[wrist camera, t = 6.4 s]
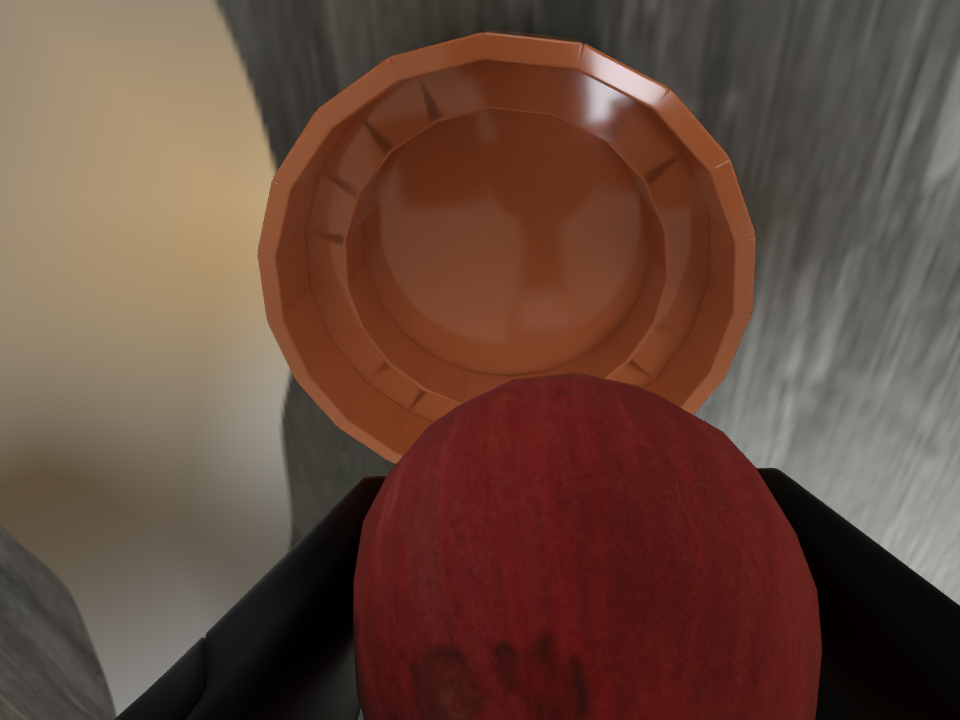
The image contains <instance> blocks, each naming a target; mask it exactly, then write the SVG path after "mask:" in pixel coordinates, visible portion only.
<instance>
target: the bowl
mask: <svg viewBox="0 0 960 720" xmlns="http://www.w3.org/2000/svg"><path fill="white" fill-rule="evenodd" d="M755 235H756V233H755V230H754V227H753V224H752V221H751V218H750V215H749V212H748V209H747V206H746V204H745V201H744V198H743V195H742V192H741V189H740V186H739V183H738V180H737V177H736V174H735V171H734V168H733V165H732V162H731V159H729V156H728V154H727V153H726V152H725V151H724V150H723V149H722V147H721V146H720V145H719V144H718V143H717V142H716V140H715V139H714V138H713V137H712V136H711V135H710V133H709V132H708V131H707V130H706V129H705V128H704V126H703V125H702V124H701V123H700V122H699V121H698V119H697V118H696V117H695V116H694V115H693V114H692V112H691V111H690V110H689V109H688V108H687V107H686V105H685V104H684V103H683V102H682V101H681V100H680V98H679V97H678V96H677V95H676V94H675V93H674V91H673V90H671V89H669V87H668V86H666V85H664V84H662V83H660V82H658V81H656V80H654V79H652V78H651V77H649V76H647V75H645V74H643V73H641V72H639V71H637V70H635V69H633V68H631V67H630V66H628V65H626V64H624V63H622V62H620V61H618V60H616V59H614V58H612V57H610V56H609V55H607V54H605V53H603V52H601V51H599V50H597V49H595V48H593V47H591V46H589V45H588V44H585V43H583V42H580V41H577V40H575V39H571V38H568V37H559V36H550V35H541V34H532V33H523V32H514V31H505V30H491V31H485V32H480V33H476V34H472V35H468V36H465V37H461V38H457V39H453V40H449V41H446V42H442V43H438V44H434V45H431V46H427V47H423V48H419V49H415V50H412V51H408V52H404V53H400V54H396V55H393V56H391V57H389V58H386V59H385V60H384V61H382V62H381V63H380V64H378V65H377V66H376V67H374V68H373V69H371V70H370V71H369V72H367V73H366V74H365V75H363V76H362V77H360V78H359V79H358V80H356V81H355V82H354V83H352V84H351V85H349V86H348V87H347V88H345V89H344V90H343V91H341V92H340V93H339V94H337V95H336V96H334V97H333V98H332V99H330V100H329V101H328V102H326V103H325V104H323V105H322V106H321V107H319V108H318V110H317V111H316V112H315V113H314V114H313V116H312V117H311V119H310V121H309V122H308V124H307V125H306V127H305V128H304V130H303V132H302V133H301V135H300V136H299V138H298V139H297V141H296V143H295V144H294V146H293V147H292V149H291V150H290V152H289V154H288V155H287V157H286V158H285V160H284V161H283V163H282V165H281V166H280V168H279V169H278V171H277V172H276V174H275V176H274V178H273V181H272V183H271V188H270V193H269V198H268V203H267V208H266V213H265V217H264V222H263V228H262V232H261V237H260V242H259V247H258V261H259V267H260V275H261V282H262V289H263V296H264V303H265V310H266V317H267V321H268V324H269V326H270V328H271V330H272V332H273V334H274V337H275V339H276V340H277V343H278V345H279V347H280V349H281V351H282V353H283V355H284V357H285V359H286V361H287V363H288V365H289V367H290V369H291V372H292V374H293V376H294V378H295V379H296V380H297V382H298V383H299V385H300V386H301V387H302V388H303V389H304V390H305V391H306V392H307V393H308V395H309V396H310V397H311V398H312V399H313V400H314V401H315V402H316V403H317V405H318V406H319V407H320V408H321V409H322V410H323V411H324V412H325V414H326V415H327V416H328V417H329V418H330V419H331V420H332V421H333V422H334V424H335V425H336V426H338V427H339V428H340V429H341V430H343V431H344V432H346V433H347V434H349V435H350V436H352V437H353V438H355V439H356V440H358V441H359V442H361V443H362V444H364V445H365V446H367V447H368V448H370V449H371V450H373V451H374V452H376V453H377V454H379V455H380V456H382V457H383V458H385V459H386V460H388V461H390V462H392V463H394V464H397V463H398V462H399V460H400V459H401V458H402V457H403V456H404V454H405V453H406V452H407V451H408V450H409V448H410V447H411V446H412V445H413V444H414V442H415V441H416V440H417V439H418V438H419V437H420V435H421V434H422V433H423V432H424V431H425V429H426V428H427V427H428V426H429V425H431V424H432V423H433V422H435V421H436V420H438V419H439V418H441V417H442V416H444V415H445V414H447V413H448V412H449V411H451V410H452V409H454V408H455V407H457V406H458V405H460V404H463V403H465V402H467V401H469V400H471V399H473V398H475V397H477V396H479V395H482V394H484V393H486V392H488V391H490V390H492V389H494V388H496V387H498V386H501V385H503V384H505V383H507V382H509V381H511V380H514V379H523V378H531V377H540V376H548V375H557V374H566V373H574V372H577V373H582V374H586V375H591V376H595V377H600V378H605V379H609V380H614V381H618V382H623V383H627V384H632V385H636V386H639V387H641V388H643V389H646V390H648V391H650V392H653V393H655V394H658V395H659V396H661V397H663V398H665V399H666V400H668V401H670V402H672V403H673V404H675V405H677V406H679V407H680V408H682V409H684V410H686V411H687V412H689V413H691V414H693V415H694V414H695V412H696V411H697V410H698V409H699V408H700V407H701V405H702V404H703V403H704V402H705V401H706V400H707V398H708V397H709V396H710V395H711V394H712V393H713V391H714V390H715V389H716V388H717V387H718V386H719V384H720V383H721V382H722V381H723V380H724V377H725V376H726V375H727V372H728V370H729V367H730V365H731V363H732V360H733V358H734V355H735V353H736V351H737V348H738V346H739V344H740V341H741V339H742V336H743V334H744V332H745V329H746V327H747V324H748V322H749V320H750V317H751V315H752V311H753V295H754V274H755V254H756V237H755Z"/></svg>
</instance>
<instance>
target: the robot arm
mask: <svg viewBox="0 0 960 720" xmlns="http://www.w3.org/2000/svg"><path fill="white" fill-rule="evenodd" d="M756 469H757V470H758V472H759V474H760V475H761V477H762V479H763V480H764V482H765V484H766V485H767V487H768V488H769V490H770V492H771V493H772V495H773V497H774V498H775V500H776V502H777V503H778V505H779V506H780V508H781V510H782V511H783V513H784V515H785V516H786V518H787V520H788V521H789V523H790V524H791V526H792V528H793V529H794V531H795V533H796V535H797V537H798V540H799V543H800V545H801V548H802V551H803V553H804V556H805V559H806V561H807V564H808V567H809V569H810V572H811V575H812V577H813V580H814V583H815V585H816V588H817V595H818V606H819V618H820V629H821V641H822V657H821V667H820V678H819V688H818V699H817V709H816V717H815V720H960V605H958V604H957V603H956V602H954V601H953V600H952V599H950V598H949V597H948V596H946V595H945V594H944V593H942V592H941V591H940V590H938V589H937V588H936V587H934V586H933V585H932V584H930V583H929V582H928V581H926V580H925V579H924V578H922V577H921V576H920V575H918V574H917V573H916V572H914V571H913V570H912V569H910V568H909V567H908V566H907V565H905V564H904V563H903V562H901V561H900V560H899V559H897V558H896V557H895V556H893V555H892V554H891V553H889V552H888V551H887V550H885V549H884V548H883V547H881V546H880V545H879V544H877V543H876V542H875V541H873V540H872V539H871V538H869V537H868V536H867V535H865V534H864V533H863V532H861V531H860V530H859V529H857V528H856V527H855V526H853V525H852V524H851V523H849V522H848V521H847V520H845V519H844V518H843V517H842V516H840V515H839V514H838V513H836V512H835V511H834V510H832V509H831V508H830V507H828V506H827V505H826V504H824V503H823V502H822V501H820V500H819V499H818V498H816V497H815V496H814V495H812V494H811V493H810V492H808V491H807V490H806V489H804V488H803V487H802V486H800V485H799V484H798V483H796V482H795V481H794V480H792V479H791V478H790V477H788V476H787V475H786V474H784V473H783V472H782V471H780V470H778V469H776V468H756ZM385 478H386V477H385V476H370V477H365V478H363V479H362V480H361V481H360V482H359V483H358V484H357V485H356V486H355V487H354V488H353V489H352V490H351V491H350V492H349V493H348V494H347V495H346V496H345V497H344V498H343V499H342V500H341V501H340V502H339V503H338V504H337V505H335V506H334V507H333V508H332V509H331V510H330V511H329V512H328V513H327V514H326V515H325V516H324V517H323V518H322V519H321V520H320V521H319V522H318V523H317V524H316V525H315V526H314V527H313V528H312V529H311V530H310V531H309V532H308V533H307V534H306V535H305V536H304V537H303V538H302V539H301V540H300V541H299V542H298V543H297V544H296V545H295V546H294V547H293V548H292V549H291V550H290V551H289V552H288V553H287V554H286V555H285V556H284V557H283V558H282V559H281V560H280V561H279V562H278V563H277V564H276V565H275V566H274V567H273V568H272V569H271V570H270V571H269V572H268V573H267V574H266V575H265V576H264V577H263V578H262V579H261V580H260V581H259V582H258V583H257V584H256V585H255V586H254V587H252V588H251V590H250V591H248V593H246V594H245V595H244V596H243V597H242V598H241V599H240V600H239V602H237V603H236V604H235V605H234V606H233V607H232V608H231V609H230V610H229V611H228V612H227V613H226V614H225V615H224V616H223V617H222V618H221V619H220V620H219V621H218V622H217V623H216V624H215V625H214V626H213V627H212V628H211V629H210V630H209V631H208V632H207V634H206V638H201V639H200V640H199V641H198V642H197V643H196V644H195V645H194V646H192V648H190V649H189V650H188V651H187V652H186V654H185V655H184V656H182V657H181V658H180V659H179V660H178V661H177V662H176V663H175V664H174V665H173V666H172V667H171V668H170V669H169V670H168V671H167V672H166V673H165V674H164V675H162V677H160V678H159V679H158V680H157V681H156V682H155V683H154V684H153V685H152V686H151V687H150V688H149V689H148V690H147V691H146V692H144V693H143V694H142V695H141V696H140V697H139V698H138V699H137V700H136V701H134V702H133V703H132V704H131V705H130V706H129V707H128V708H126V709H125V710H124V711H123V712H122V713H121V714H120V715H119V716H117V717H116V718H115V719H114V720H358V716H359V712H360V708H361V705H360V701H359V697H358V694H357V690H356V675H355V658H354V641H353V603H354V576H355V570H356V563H357V557H358V550H359V544H360V537H361V531H362V524H363V521H364V519H365V517H366V515H367V513H368V511H369V509H370V507H371V505H372V503H373V501H374V499H375V498H376V496H377V494H378V492H379V490H380V488H381V486H382V484H383V482H384V480H385Z"/></svg>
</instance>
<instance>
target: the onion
mask: <svg viewBox="0 0 960 720" xmlns="http://www.w3.org/2000/svg"><path fill="white" fill-rule="evenodd" d="M353 641H354V658H355V675H356V690H357V694H358V697H359V701H360V705H361V709H362V713H363V717H364V720H815V717H816V709H817V699H818V688H819V678H820V667H821V657H822V641H821V629H820V618H819V606H818V595H817V588H816V585H815V583H814V580H813V577H812V575H811V572H810V569H809V567H808V564H807V561H806V559H805V556H804V553H803V551H802V548H801V545H800V543H799V540H798V537H797V535H796V533H795V531H794V529H793V528H792V526H791V524H790V523H789V521H788V520H787V518H786V516H785V515H784V513H783V511H782V510H781V508H780V506H779V505H778V503H777V502H776V500H775V498H774V497H773V495H772V493H771V492H770V490H769V488H768V487H767V485H766V484H765V482H764V480H763V479H762V477H761V475H760V474H759V472H758V470H757V469H756V467H755V466H754V465H753V464H752V463H751V462H750V461H749V460H748V459H747V458H746V456H745V455H744V454H743V453H742V452H741V451H740V450H739V449H738V448H737V447H736V446H735V444H734V443H733V442H732V441H731V440H730V439H729V438H728V437H727V436H726V435H725V434H724V433H723V432H722V431H720V430H719V429H717V428H715V427H713V426H712V425H710V424H708V423H706V422H705V421H703V420H701V419H700V418H698V417H696V416H694V415H693V414H691V413H689V412H687V411H686V410H684V409H682V408H680V407H679V406H677V405H675V404H673V403H672V402H670V401H668V400H666V399H665V398H663V397H661V396H659V395H658V394H655V393H653V392H650V391H648V390H646V389H643V388H641V387H639V386H636V385H632V384H627V383H623V382H618V381H614V380H609V379H605V378H600V377H595V376H591V375H586V374H582V373H577V372H574V373H566V374H557V375H548V376H540V377H531V378H523V379H514V380H511V381H509V382H507V383H505V384H503V385H501V386H498V387H496V388H494V389H492V390H490V391H488V392H486V393H484V394H482V395H479V396H477V397H475V398H473V399H471V400H469V401H467V402H465V403H463V404H460V405H458V406H457V407H455V408H454V409H452V410H451V411H449V412H448V413H447V414H445V415H444V416H442V417H441V418H439V419H438V420H436V421H435V422H433V423H432V424H431V425H429V426H428V427H427V428H426V429H425V431H424V432H423V433H422V434H421V435H420V437H419V438H418V439H417V440H416V441H415V442H414V444H413V445H412V446H411V447H410V448H409V450H408V451H407V452H406V453H405V454H404V456H403V457H402V458H401V459H400V460H399V462H398V463H397V464H396V465H395V466H394V467H393V469H392V470H391V471H390V472H389V473H388V475H387V476H386V478H385V480H384V482H383V484H382V486H381V488H380V490H379V492H378V494H377V496H376V498H375V499H374V501H373V503H372V505H371V507H370V509H369V511H368V513H367V515H366V517H365V519H364V521H363V524H362V531H361V537H360V544H359V550H358V557H357V563H356V570H355V576H354V603H353Z"/></svg>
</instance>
